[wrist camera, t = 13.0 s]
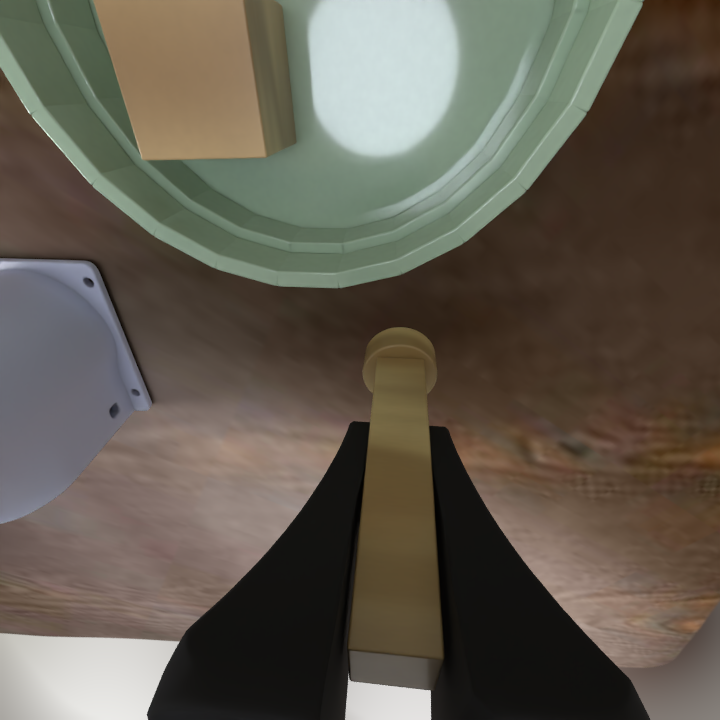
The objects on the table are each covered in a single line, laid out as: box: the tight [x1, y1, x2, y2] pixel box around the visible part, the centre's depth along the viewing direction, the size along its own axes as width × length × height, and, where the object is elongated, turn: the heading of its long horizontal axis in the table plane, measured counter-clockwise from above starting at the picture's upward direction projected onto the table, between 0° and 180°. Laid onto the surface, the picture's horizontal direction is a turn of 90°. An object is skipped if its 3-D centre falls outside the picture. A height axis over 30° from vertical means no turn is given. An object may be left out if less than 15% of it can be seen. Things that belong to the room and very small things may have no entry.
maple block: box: [93, 0, 297, 160], centre depth 12 cm, size 4×4×4 cm
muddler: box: [347, 327, 445, 691], centre depth 11 cm, size 3×3×10 cm
